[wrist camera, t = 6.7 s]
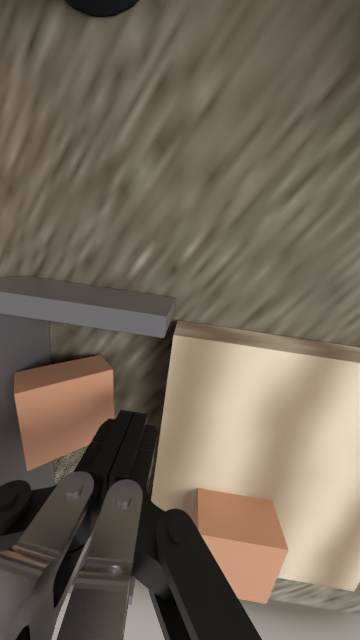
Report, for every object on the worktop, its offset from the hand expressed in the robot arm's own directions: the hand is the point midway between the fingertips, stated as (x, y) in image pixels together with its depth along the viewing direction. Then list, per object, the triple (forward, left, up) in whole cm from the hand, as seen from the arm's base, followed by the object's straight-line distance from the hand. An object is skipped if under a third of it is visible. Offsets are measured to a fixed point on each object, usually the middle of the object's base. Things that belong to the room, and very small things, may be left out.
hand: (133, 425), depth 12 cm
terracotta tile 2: (-7, +8, -1) cm, 11 cm away
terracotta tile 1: (+4, +1, -1) cm, 4 cm away
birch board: (-9, +4, -4) cm, 11 cm away
